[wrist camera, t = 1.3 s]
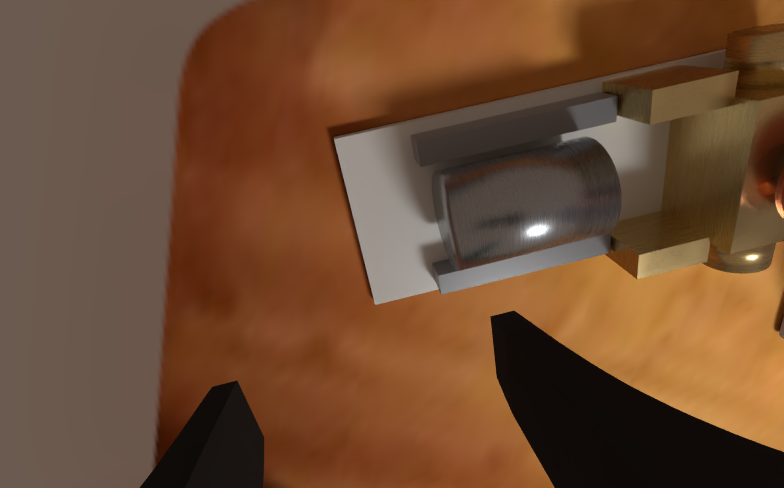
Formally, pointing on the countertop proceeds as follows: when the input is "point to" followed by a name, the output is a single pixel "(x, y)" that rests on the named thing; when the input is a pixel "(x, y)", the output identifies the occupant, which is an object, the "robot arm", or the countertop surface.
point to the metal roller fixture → (479, 142)
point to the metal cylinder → (526, 202)
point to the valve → (711, 160)
